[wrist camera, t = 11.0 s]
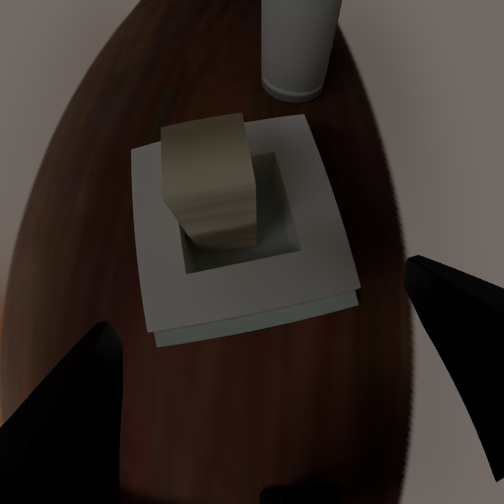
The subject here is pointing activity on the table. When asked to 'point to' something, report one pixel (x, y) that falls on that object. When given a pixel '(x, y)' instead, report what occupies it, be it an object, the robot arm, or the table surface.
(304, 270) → the socket block
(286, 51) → the travel mug
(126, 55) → the table surface
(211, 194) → the birch peg
